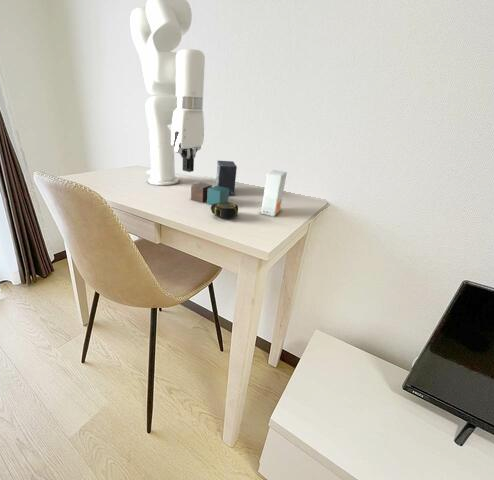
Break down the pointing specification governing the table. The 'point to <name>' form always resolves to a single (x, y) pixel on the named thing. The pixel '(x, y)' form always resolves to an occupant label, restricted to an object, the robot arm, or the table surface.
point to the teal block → (217, 195)
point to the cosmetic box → (273, 192)
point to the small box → (226, 175)
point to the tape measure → (225, 210)
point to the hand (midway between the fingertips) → (188, 170)
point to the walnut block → (199, 192)
